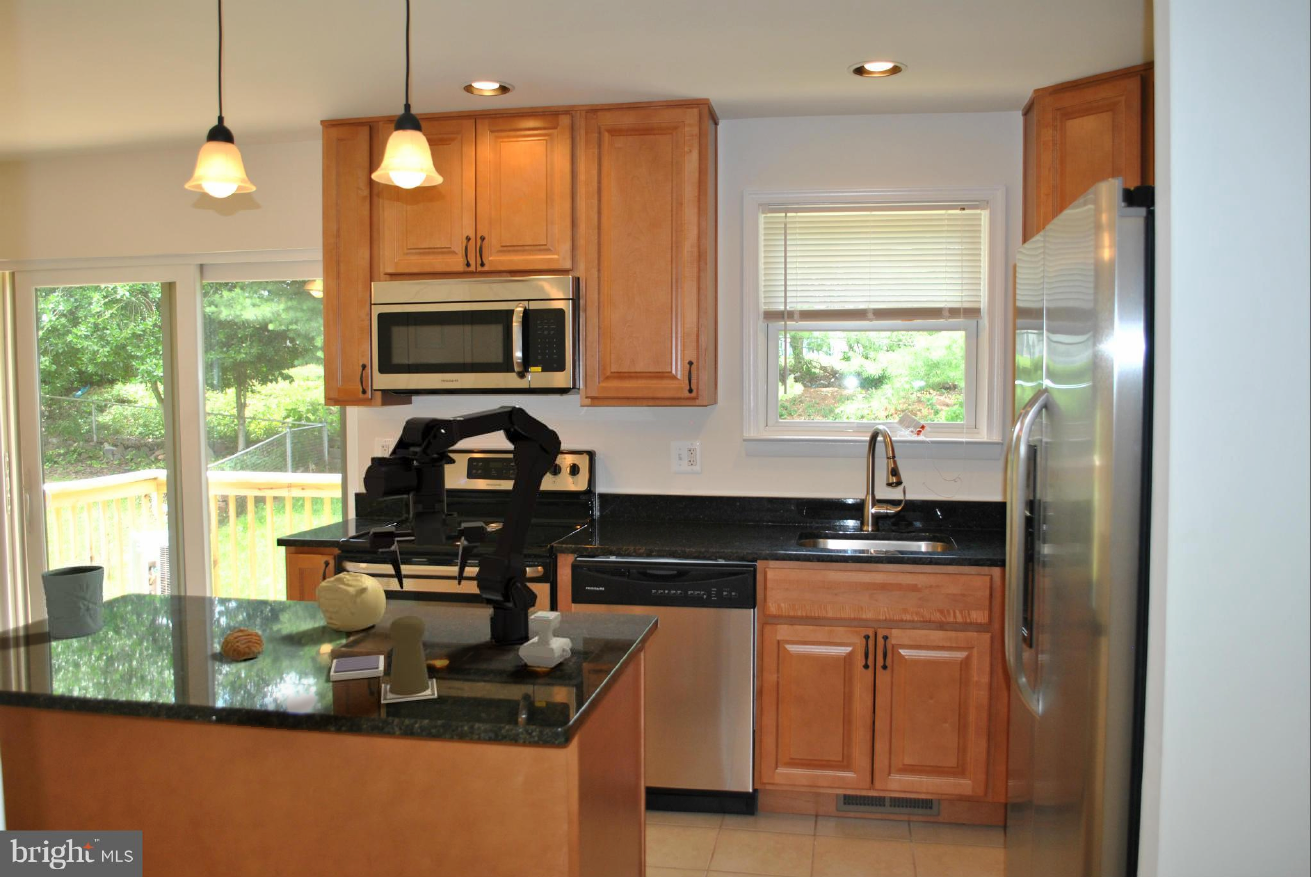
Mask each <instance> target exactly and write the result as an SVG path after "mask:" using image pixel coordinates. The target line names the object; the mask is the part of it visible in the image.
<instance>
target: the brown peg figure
mask: <svg viewBox="0 0 1311 877" xmlns="http://www.w3.org/2000/svg"><path fill="white" fill-rule="evenodd" d="M425 632H426V624H425V622H424V620H423V619H422V618H421V617H419V616H413V615H410V616H408V615H407V616H401V617H398V618H395V619H394V620H392V622H391V624H390V625H389V635H390V637H391V639H392V640H393V649H392V658H391V667H390V677H389V683H390V686H389V692H390V693H391V694H394V695H400V696H407V695H415V694H419V693H422V692H425V691H426V690H428V689H429V688H430V686H429V680H428V679H429V675H428V668H427V663H426V662H427V661H426V656H425V650H424V646H423V639H422V638H423V637H424V635H425V634H426V633H425Z"/></svg>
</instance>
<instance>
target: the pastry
mask: <svg viewBox="0 0 1311 877" xmlns="http://www.w3.org/2000/svg"><path fill="white" fill-rule="evenodd" d="M264 647H265V642H264V640H263V638H262V634H260V633H259V632H258V631H254V630H252V629H247V628H238V629H236V630H235V629H234V631H232V632H229V633H228V634H227V635H226V636H225V637H224V638H223V640H222V643H221V646H220V651H221V653H222V655H223V656H224V657H226V658H228V659H230V660H232V661H239V662H241V661H243V660H245V659H251V658H259V657H260V654H262V653H263V652H264V651H263V650H264ZM261 652H262V653H261Z"/></svg>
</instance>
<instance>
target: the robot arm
mask: <svg viewBox="0 0 1311 877" xmlns="http://www.w3.org/2000/svg"><path fill="white" fill-rule="evenodd" d="M500 431H502V432H503V435H504V437H505V440H506V441H508V442H509V443H510V444H511V446H513V450H512V451H513V452H512V460H513V464H514V468H515V476H514V480H513V483H512V484H513V485H512V486H511V487H512V488H511V492H510V495H509V499H508V503H507V506H506V510H505V513H504V518H503V521H502V525H501V529H500V533H499V537H498V540H497V544H496V547H495V549H494V550H493V551H492V552H491V553H490V555H488V554H487V555H486V554H483V555H481V558H480V560H479V566H478V570H477V572H476V573H475V575H474V576H475V577H476V578H477V579H476V589H478V592H479V594H480V595H481V598H482V600H483V602H484V603H483V604H484V605H485V606H491V613H489V614H488V630H489V631H488V633H489V635H488V636H489V639H490V640H491V641H492V642H493V645H494V646H501V645H504V646H505V645H512V644H525V643H527V642H529V641H530V640H532V638H531V637H530V626H529V618H530V617H529V611H530V609H532V608H535V607H536V604H537V600H538V594H537V593H536V592H535V591H534V590H533V589H532V588H531V587H530V586H529V585H528V584H527V583H526V582H527V573H528V569H527V565H526V560H525V557H524V554H525V548H526V545H527V540H528V536H529V533H530V530H531V526H532V522H533V521H532V520H533V518H534V513H535V511H536V506H537V503H538V498H539V495H540V490H541V488H542V487H541V486H542V483H543V479H544V478H545V477H546V476H547V475H548V473H549V472H550V471H551V470H552V468H554V467H555V464H556V462H557V459H558V457H559V455H560V452H561V450H562V440H561V439H560V437H559V434H558V433H557V431H555V430H554V429H552V428H549V427H548V425H547V424H545V423H544V422H542V421H540V420H538V418H535V417H534V416H532V415H531V414H529V413H528V412H527V410H526V409H524V408H522V407H521V406H519V405H501V406H499V407H497V408H491V409H487V410H481V411H477V412H472V413H467V414H461V415H457V416H453V417H452V416H451V417H426V416H425V417H423V416H420V417H419V416H413V417H411V418H408V419H407V420H406V421H405V424H404V425H403V427H402V431H401V434H400V436H399V437H398V439H397V441H396V443H395V444H394V445H393V448H392V450H391V451H390V453H389V455H388V456H371V457H370V465H368V466H367V468H366V469H365V473H364V477H363V487H364V491H365V493H366V495H367V497H368V498H369V499H371V500H373V501H382V500H388V499H395V498H404V497H408V496H409V501H410V502H409V503H410V505H409V507H410V530H402V531H401V530H399V531H397V530H396V526H381V527H378V526H377V527H373V528H372V529H371V530H369V531H370V533H369V550H373V551H375V550H378V555H385V556H386V558H387V560H388V561H389V564H390V565H391V567H392V570H393V571H394V574H395V578H396V580H397V583H398V585H399V586H398V587H399V588H400V590H404V577H403V570H402V565H401V559H400V553H399V547H398V543H399V544H400V543H414V544H415V546H419V547H424V546H426V545H436V546H441V545H444V544H445V543H446V541H451V540H459V552H458V564H457V574H456V576H457V586H461V584H462V582H463V581H462V580H463V577H464V574H465V571H466V568H467V564H468V561H469V560H470V557H471V555H472V553H473V551H474V549H480V546H481V544H486V543H487V544H488V543H489V536H488V535H489V533H488V528H487V526H486V525H485V523H484V522H483V521H471V522H469V521H468V522H461V527H459V526H458V512H456V511H454V512H447V499H446V498H447V495H446V494H447V493H446V467H445V466H447V465H455V464H456V463H457V461H456V459H455V458H454V457H452V456H451V455H450V454H449V453H448V451H447V450H449V449H451V448H453V447H455V446H456V445H457V444H458V443H459V442H461V441H463V440H465V439H470V438H475V437H479V436H483V435H487V434H492V433H497V432H500Z"/></svg>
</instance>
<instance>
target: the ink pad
mask: <svg viewBox="0 0 1311 877" xmlns="http://www.w3.org/2000/svg"><path fill="white" fill-rule="evenodd" d="M384 656H385V654H384V655H380V654H374V655H363V656H353V657H342V658H337V659H333V662H332V665H331V666H332V667H331V669H330V674H329V678H330V679H329V680H330V682H332V681H333V682H335V681H342V680H343V681H344V680H353V679H355V680H356V679H363V678H373V677H374V678H375V677H383V676H384V663H385V659H384Z"/></svg>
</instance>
